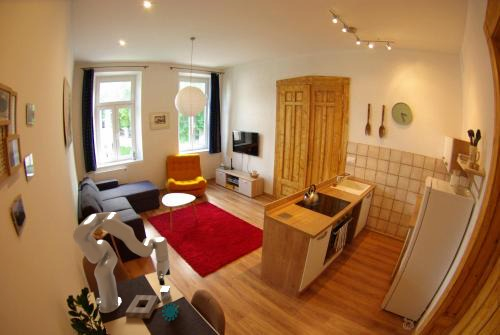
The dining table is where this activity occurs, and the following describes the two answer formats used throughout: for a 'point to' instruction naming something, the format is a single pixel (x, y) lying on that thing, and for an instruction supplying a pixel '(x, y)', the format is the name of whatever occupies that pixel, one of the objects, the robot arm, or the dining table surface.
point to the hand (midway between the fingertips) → (165, 279)
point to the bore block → (138, 312)
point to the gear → (170, 311)
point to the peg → (165, 292)
